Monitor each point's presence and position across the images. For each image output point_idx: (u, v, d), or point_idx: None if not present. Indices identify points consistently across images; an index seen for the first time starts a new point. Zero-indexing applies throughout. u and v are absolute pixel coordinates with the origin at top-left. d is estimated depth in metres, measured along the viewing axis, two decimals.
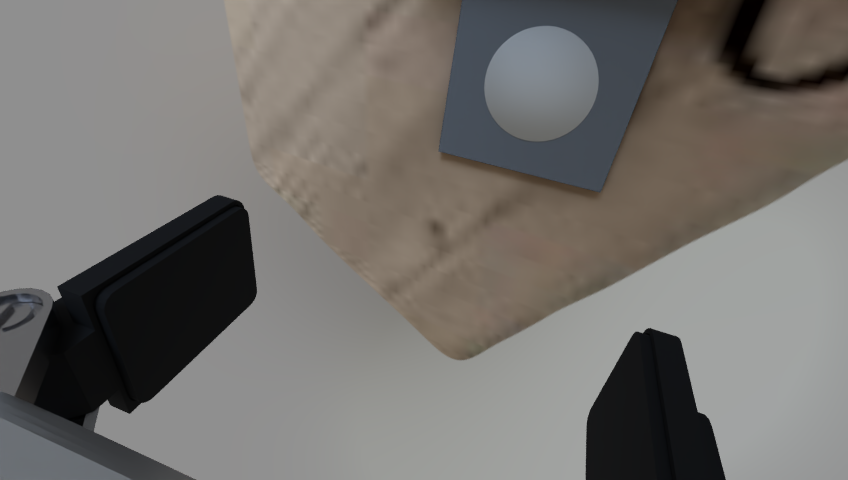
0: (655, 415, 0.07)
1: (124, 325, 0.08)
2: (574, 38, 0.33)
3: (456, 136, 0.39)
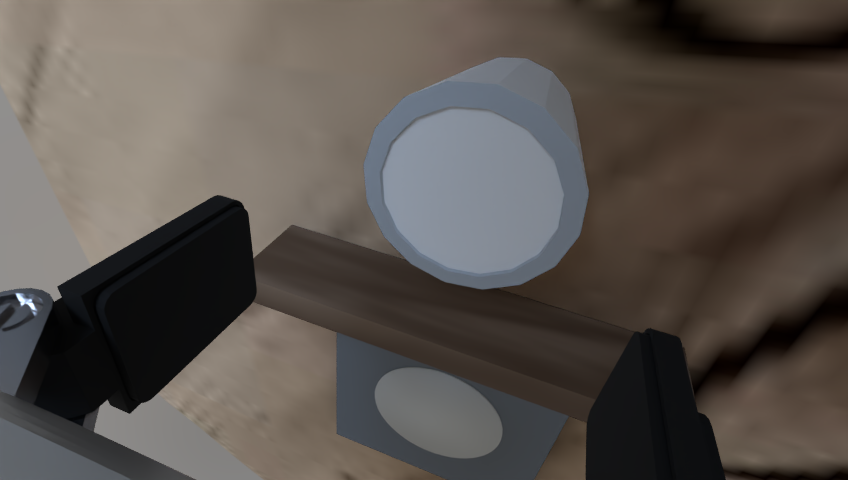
0: (654, 415, 0.07)
1: (124, 325, 0.08)
2: (468, 388, 0.27)
3: (353, 428, 0.34)
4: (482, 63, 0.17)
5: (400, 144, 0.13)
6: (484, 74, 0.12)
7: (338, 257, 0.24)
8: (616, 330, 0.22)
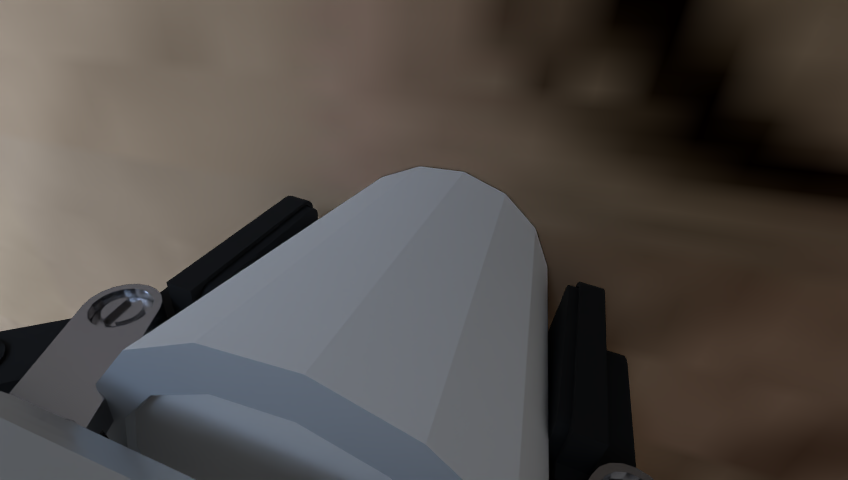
0: (569, 348, 0.08)
1: None
2: None
3: None
4: (393, 175, 0.10)
5: (148, 421, 0.06)
6: (327, 278, 0.06)
7: None
8: None
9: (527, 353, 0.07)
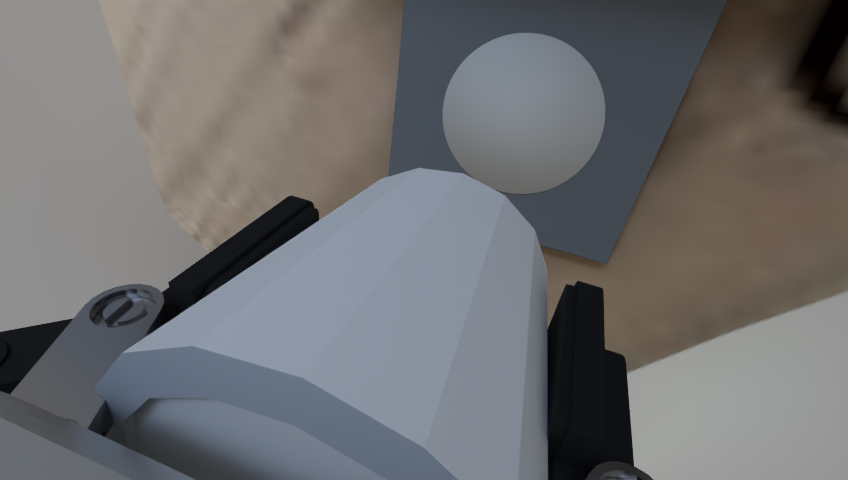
0: (567, 346, 0.08)
1: None
2: (569, 51, 0.22)
3: None
4: (393, 176, 0.10)
5: (147, 424, 0.06)
6: (326, 281, 0.06)
7: None
8: None
9: (526, 355, 0.07)
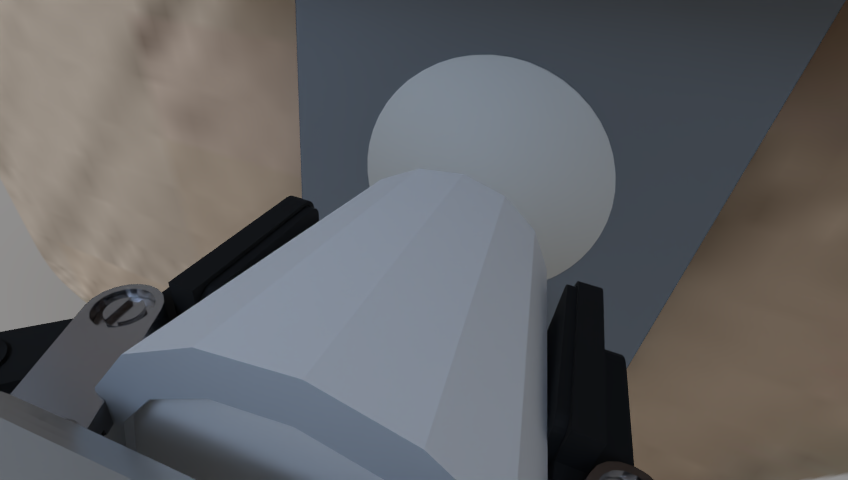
0: (567, 347, 0.08)
1: None
2: (556, 86, 0.13)
3: None
4: (393, 177, 0.11)
5: (147, 425, 0.06)
6: (325, 282, 0.06)
7: None
8: None
9: (526, 356, 0.07)
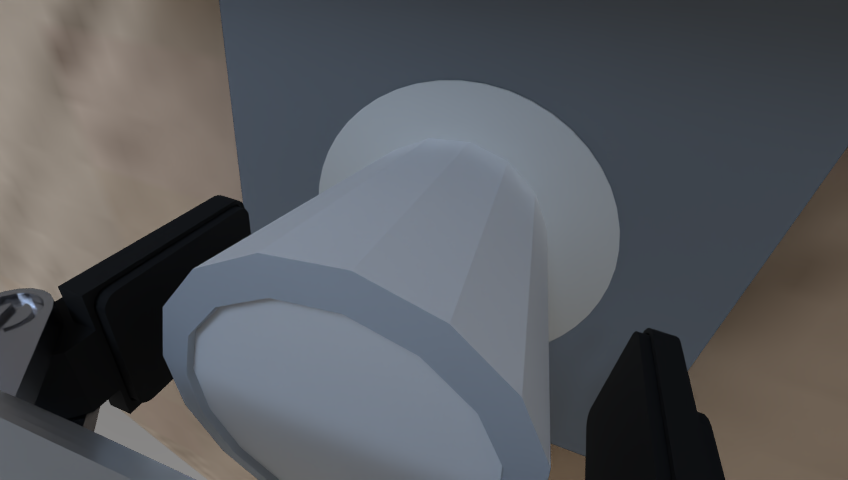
0: (654, 414, 0.07)
1: (125, 325, 0.08)
2: (544, 121, 0.10)
3: None
4: (406, 146, 0.12)
5: (208, 338, 0.07)
6: (359, 213, 0.07)
7: None
8: None
9: (529, 284, 0.08)
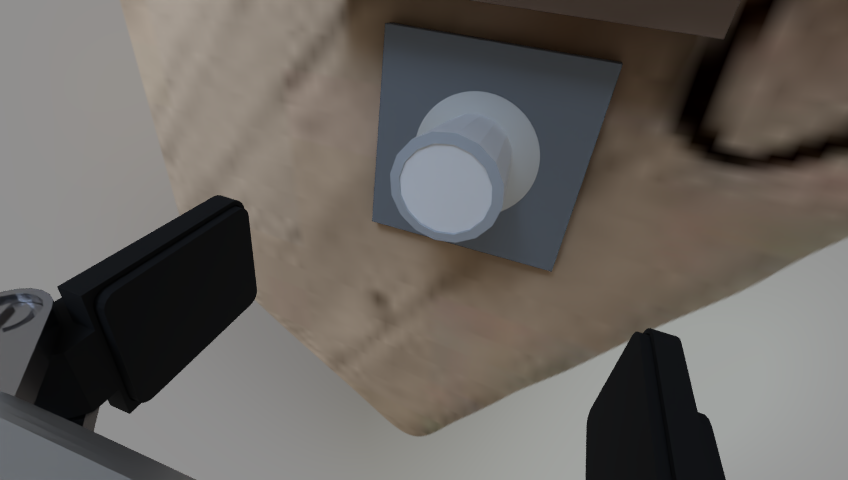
0: (655, 415, 0.07)
1: (124, 325, 0.08)
2: (509, 105, 0.28)
3: (390, 206, 0.35)
4: (456, 117, 0.29)
5: (409, 162, 0.25)
6: (452, 127, 0.25)
7: None
8: None
9: (500, 151, 0.25)
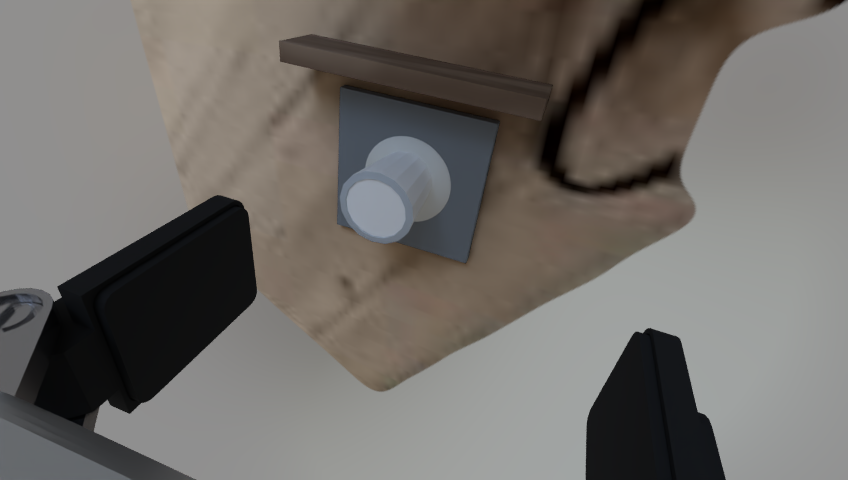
0: (655, 415, 0.07)
1: (124, 325, 0.08)
2: (427, 147, 0.40)
3: None
4: (391, 153, 0.41)
5: (351, 190, 0.37)
6: (380, 166, 0.36)
7: (342, 44, 0.37)
8: (512, 77, 0.35)
9: (415, 182, 0.37)
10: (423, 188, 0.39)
